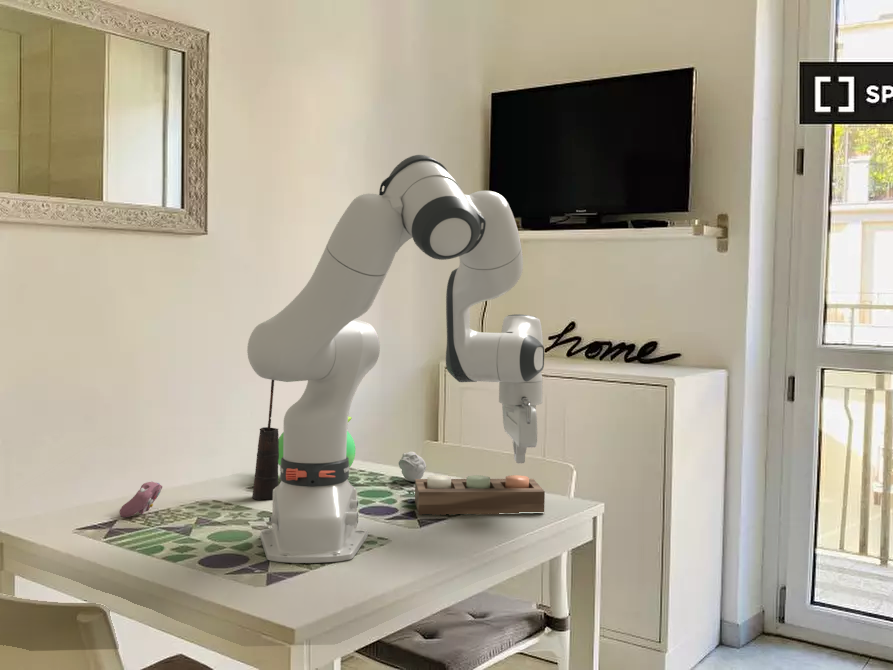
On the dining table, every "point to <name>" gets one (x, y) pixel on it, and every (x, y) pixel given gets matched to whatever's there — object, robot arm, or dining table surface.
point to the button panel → (478, 498)
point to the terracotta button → (516, 481)
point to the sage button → (478, 482)
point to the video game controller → (141, 499)
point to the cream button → (439, 482)
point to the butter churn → (267, 460)
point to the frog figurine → (412, 466)
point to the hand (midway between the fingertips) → (519, 462)
